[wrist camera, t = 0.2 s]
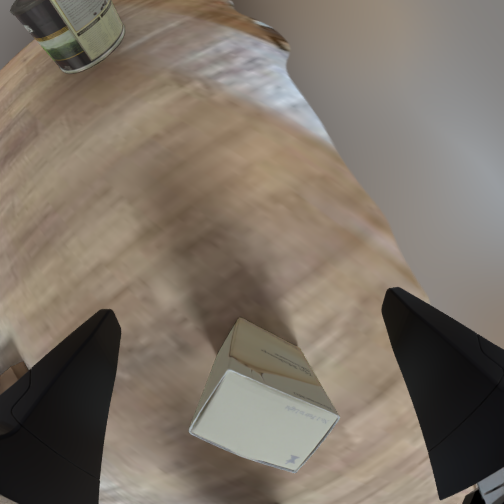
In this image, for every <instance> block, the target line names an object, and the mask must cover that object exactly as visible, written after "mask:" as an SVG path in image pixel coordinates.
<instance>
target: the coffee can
mask: <svg viewBox="0 0 504 504" xmlns="http://www.w3.org/2000/svg"><path fill="white" fill-rule="evenodd" d="M10 11H11V13H12V14H13V15H15V16H16V17H17V19H18V20H19V21H20V22H21V23H22V24H23V26H24V27H25V28H26V29H27V30H28V31H29V33H30V34H31V35H32V36H33V37H34V38H35V39H36V41H37V42H38V43H39V44H40V45H41V46H42V47H43V49H44V50H45V51H46V52H47V53H48V54H49V55H50V57H51V58H52V59H53V60H54V61H55V62H56V64H57V65H58V66H59V67H60V69H61V70H62V71H63V72H65V73H77V72H81V71H83V70H86V69H88V68H90V67H92V66H94V65H95V64H97V63H99V62H100V61H101V60H103V59H104V58H106V57H107V56H108V55H109V54H110V53H111V52H112V51H113V50H114V49H115V48H116V47H117V46H118V45H119V43H120V42H121V40H122V38H123V36H124V33H125V28H124V25H123V24H122V22H121V20H120V18H119V16H118V14H117V12H116V9H115V7H114V5H113V3H112V1H111V0H16V1H15V2H14V4H13V5H12V7H11V10H10Z"/></svg>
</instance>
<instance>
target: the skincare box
mask: <svg viewBox="0 0 504 504" xmlns="http://www.w3.org/2000/svg"><path fill="white" fill-rule="evenodd" d="M339 419H340V416H339V414H338V413H337V411H336V409H335V408H334V406H333V405H332V403H331V401H330V399H329V398H328V396H327V394H326V392H325V391H324V389H323V387H322V386H321V384H320V382H319V380H318V379H317V377H316V375H315V374H314V372H313V370H312V368H311V367H310V365H309V363H308V361H307V360H306V358H305V356H304V354H303V353H302V351H301V349H300V348H299V347H297V346H295V345H293V344H291V343H289V342H287V341H285V340H283V339H281V338H279V337H278V336H276V335H274V334H272V333H270V332H268V331H266V330H264V329H262V328H260V327H258V326H256V325H254V324H252V323H251V322H249V321H247V320H245V319H243V318H241V317H239V318H238V320H237V321H236V323H235V325H234V326H233V328H232V330H231V331H230V333H229V335H228V337H227V338H226V340H225V342H224V343H223V345H222V347H221V349H220V351H219V352H218V354H217V357H216V359H215V362H214V364H213V367H212V370H211V372H210V375H209V378H208V380H207V383H206V386H205V388H204V391H203V393H202V396H201V399H200V401H199V404H198V407H197V409H196V412H195V414H194V417H193V419H192V422H191V425H190V427H189V433H190V434H191V435H193V436H195V437H197V438H200V439H202V440H204V441H206V442H208V443H210V444H212V445H215V446H217V447H219V448H222V449H224V450H226V451H229V452H231V453H233V454H236V455H238V456H241V457H244V458H246V459H249V460H252V461H256V462H259V463H262V464H265V465H268V466H271V467H275V468H278V469H281V470H286V471H289V472H292V473H296V472H297V471H298V470H299V469H300V468H301V467H302V466H303V465H304V463H305V462H306V461H307V460H308V459H309V458H310V457H311V455H312V454H313V453H314V452H315V451H316V450H317V448H318V447H319V446H320V445H321V443H322V442H323V441H324V440H325V438H326V437H327V436H328V434H329V433H330V432H331V430H332V429H333V428H334V426H335V425H336V423H337V422H338V421H339Z"/></svg>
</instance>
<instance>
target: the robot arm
mask: <svg viewBox="0 0 504 504" xmlns="http://www.w3.org/2000/svg"><path fill="white" fill-rule="evenodd" d="M381 310H382V316H383V319H384V322H385V325H386V329H387V332H388V335H389V339H390V342H391V346H392V349H393V352H394V354H395V357H396V360H397V362H398V365H399V367H400V370H401V372H402V375H403V378H404V380H405V383H406V386H407V388H408V391H409V394H410V397H411V400H412V402H413V405H414V408H415V411H416V414H417V417H418V420H419V424H420V427H421V430H422V433H423V437H424V440H425V443H426V447H427V450H428V454H429V458H430V462H431V466H432V470H433V474H434V478H435V482H436V486H437V491H438V495H439V499H440V500H443V499H445V498H447V497H450V496H452V495H454V494H456V493H458V492H460V491H463V490H465V489H467V488H469V487H470V486H472V485H474V484H476V483H477V485H478V488H476V489H475V490H474V491H472V492H471V493H469V494H467V495H466V496H465V498H464V501H463V503H462V504H504V349H502V348H500V347H498V346H497V345H495V344H493V343H492V342H490V341H488V340H487V339H485V338H483V337H482V336H480V335H479V334H477V333H475V332H474V331H472V330H471V329H469V328H467V327H466V326H464V325H462V324H461V323H459V322H458V321H456V320H454V319H453V318H451V317H449V316H448V315H446V314H444V313H443V312H441V311H439V310H438V309H436V308H434V307H433V306H431V305H429V304H428V303H426V302H424V301H422V300H421V299H419V298H417V297H415V296H414V295H412V294H410V293H409V292H407V291H405V290H403V289H402V288H400V287H393V288H389V289H387V291H386V294H385V297H384V301H383V304H382V309H381ZM120 339H121V327H120V325H119V323H118V320H117V318H116V316H115V314H114V312H113V310H111V309H101V310H99V311H98V312H97V313H95V314H94V315H93V316H92V317H90V318H89V319H88V320H87V321H86V322H84V323H83V324H82V325H81V326H79V327H78V328H77V329H76V330H75V331H73V332H72V333H71V334H70V335H69V336H68V337H66V338H65V339H64V340H63V341H62V342H60V343H59V344H58V345H57V346H56V347H55V348H54V349H52V350H51V351H50V352H49V353H48V354H47V355H45V356H44V357H43V358H42V359H41V360H40V361H39V362H38V363H36V364H35V365H34V366H33V367H32V368H31V369H30V370H29V371H27V372H26V373H25V374H24V375H23V376H22V377H21V378H20V379H19V380H17V381H16V382H15V383H14V384H13V385H12V386H10V387H9V388H8V389H7V390H5V391H4V392H3V393H2V394H0V504H98V502H99V486H100V480H99V479H100V472H101V462H102V454H103V446H104V438H105V431H106V425H107V419H108V413H109V407H110V402H111V397H112V391H113V386H114V382H115V377H116V371H117V363H118V355H119V347H120Z"/></svg>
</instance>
